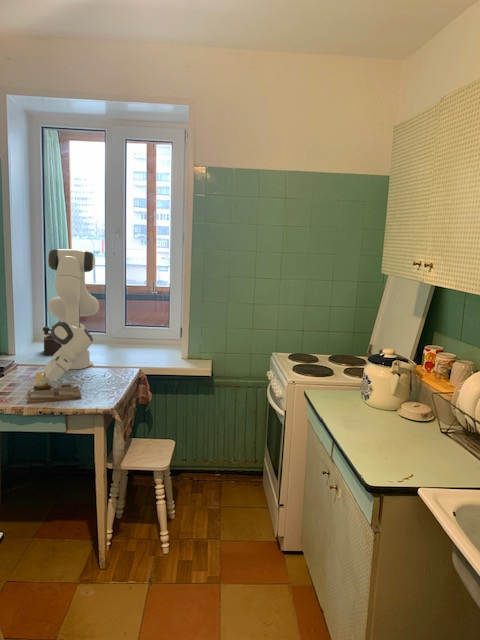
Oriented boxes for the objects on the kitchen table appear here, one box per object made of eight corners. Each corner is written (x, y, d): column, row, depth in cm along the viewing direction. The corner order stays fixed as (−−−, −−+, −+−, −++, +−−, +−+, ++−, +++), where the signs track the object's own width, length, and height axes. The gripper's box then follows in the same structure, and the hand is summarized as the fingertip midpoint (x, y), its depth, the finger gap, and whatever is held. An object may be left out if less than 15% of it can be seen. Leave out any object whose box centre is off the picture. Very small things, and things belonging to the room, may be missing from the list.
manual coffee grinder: (42, 351, 295) (41, 322, 292) (61, 350, 299) (61, 321, 296) (43, 357, 281) (42, 327, 278) (63, 356, 285) (62, 326, 282)
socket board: (28, 392, 220) (27, 383, 220) (78, 388, 229) (78, 380, 228) (27, 403, 207) (27, 394, 206) (81, 399, 215) (81, 390, 214)
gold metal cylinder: (36, 389, 217) (35, 372, 215) (48, 388, 219) (47, 371, 217) (36, 393, 212) (35, 375, 211) (48, 392, 214) (47, 375, 213)
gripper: (57, 349, 225) (35, 370, 223) (58, 360, 206) (34, 384, 204) (67, 357, 227) (45, 379, 225) (69, 369, 209) (46, 393, 207)
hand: (40, 381), depth 215 cm, fingers closed on gold metal cylinder, 5 cm apart
